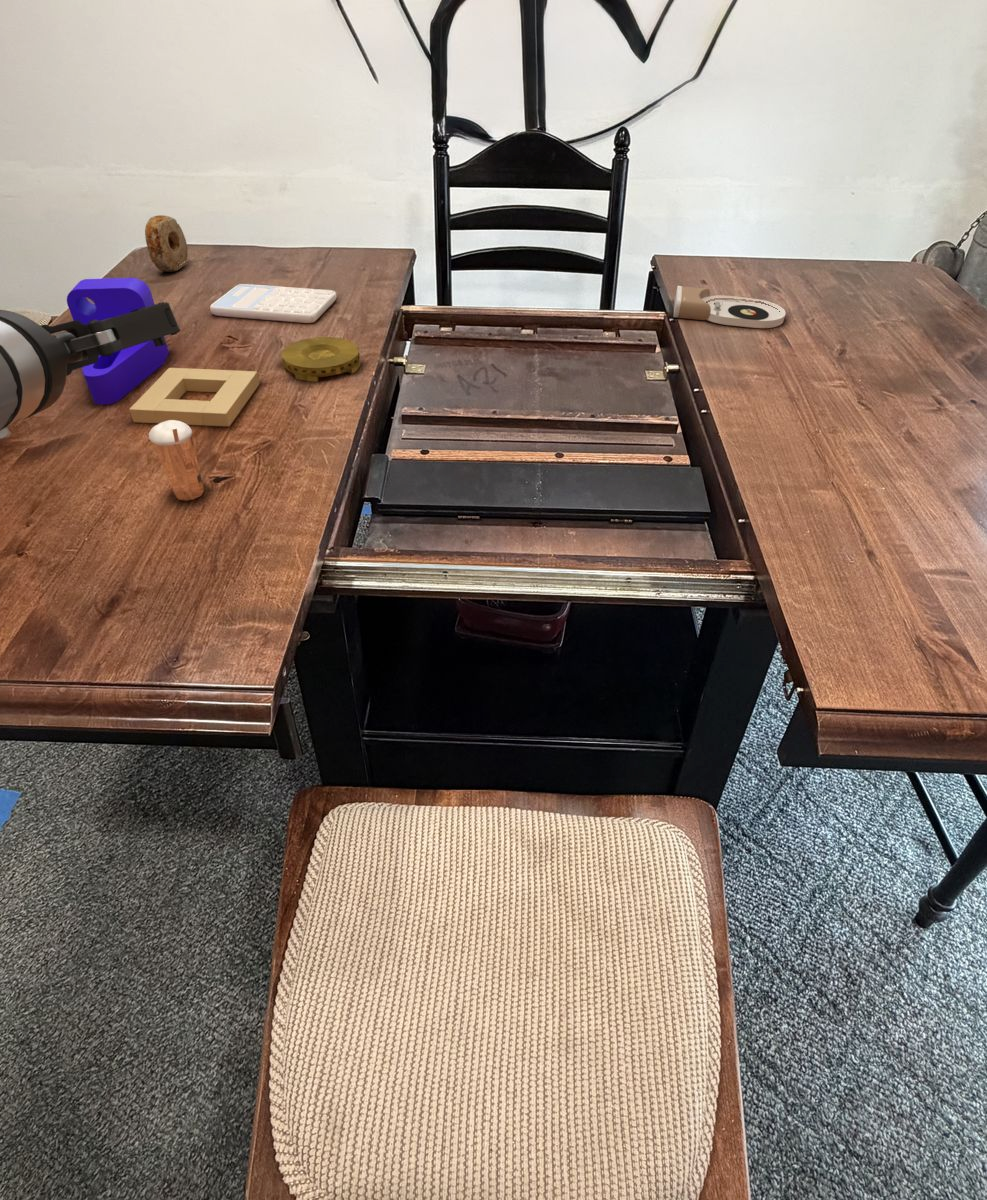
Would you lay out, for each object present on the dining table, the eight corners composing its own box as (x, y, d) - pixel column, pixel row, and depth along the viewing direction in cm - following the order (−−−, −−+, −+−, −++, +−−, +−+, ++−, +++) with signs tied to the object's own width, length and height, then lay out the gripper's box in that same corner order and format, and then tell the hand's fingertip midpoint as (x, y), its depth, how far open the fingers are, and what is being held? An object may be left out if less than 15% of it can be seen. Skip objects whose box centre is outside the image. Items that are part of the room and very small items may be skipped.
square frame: (133, 422, 99) (128, 409, 97) (172, 379, 109) (169, 367, 107) (229, 426, 98) (226, 413, 97) (260, 383, 108) (257, 371, 107)
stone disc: (169, 278, 143) (154, 224, 137) (152, 276, 144) (136, 222, 137) (195, 262, 151) (182, 210, 144) (179, 261, 151) (165, 209, 145)
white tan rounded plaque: (677, 282, 136) (785, 292, 134) (674, 299, 138) (780, 309, 136) (676, 303, 128) (791, 315, 125) (673, 320, 130) (785, 332, 127)
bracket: (99, 355, 115) (71, 279, 107) (169, 352, 116) (146, 277, 108) (64, 406, 102) (29, 324, 94) (143, 402, 103) (115, 321, 95)
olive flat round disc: (372, 371, 112) (371, 357, 111) (299, 387, 107) (297, 374, 106) (342, 344, 120) (341, 331, 118) (273, 359, 115) (271, 346, 113)
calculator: (314, 324, 126) (312, 313, 125) (208, 316, 128) (206, 305, 127) (339, 299, 136) (337, 288, 135) (240, 291, 138) (238, 281, 137)
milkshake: (179, 511, 83) (153, 434, 76) (164, 490, 86) (138, 415, 79) (217, 499, 85) (195, 423, 78) (201, 479, 88) (179, 404, 81)
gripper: (-152, 467, 51) (-14, 409, 70) (185, 376, 52) (231, 343, 71) (-225, 362, 48) (-59, 331, 67) (138, 267, 49) (200, 263, 68)
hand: (91, 337), depth 69 cm, fingers open, 13 cm apart
